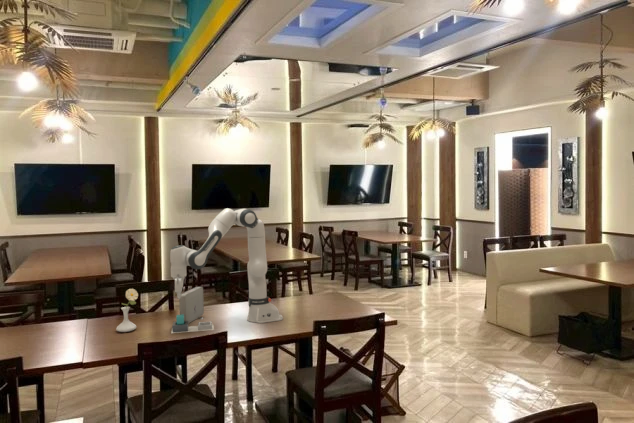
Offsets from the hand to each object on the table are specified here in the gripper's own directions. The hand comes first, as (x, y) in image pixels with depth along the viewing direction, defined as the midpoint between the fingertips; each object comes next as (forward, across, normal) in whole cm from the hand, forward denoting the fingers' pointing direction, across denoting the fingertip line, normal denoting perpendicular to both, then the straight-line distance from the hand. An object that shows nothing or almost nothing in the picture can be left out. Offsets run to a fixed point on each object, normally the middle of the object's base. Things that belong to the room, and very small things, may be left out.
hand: (179, 296), depth 286 cm
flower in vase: (+21, +13, +31) cm, 40 cm away
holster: (+20, 0, -14) cm, 24 cm away
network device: (+21, +21, -6) cm, 30 cm away
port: (+19, 0, 0) cm, 19 cm away
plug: (+19, 0, 0) cm, 19 cm away
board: (+21, 0, -7) cm, 22 cm away
